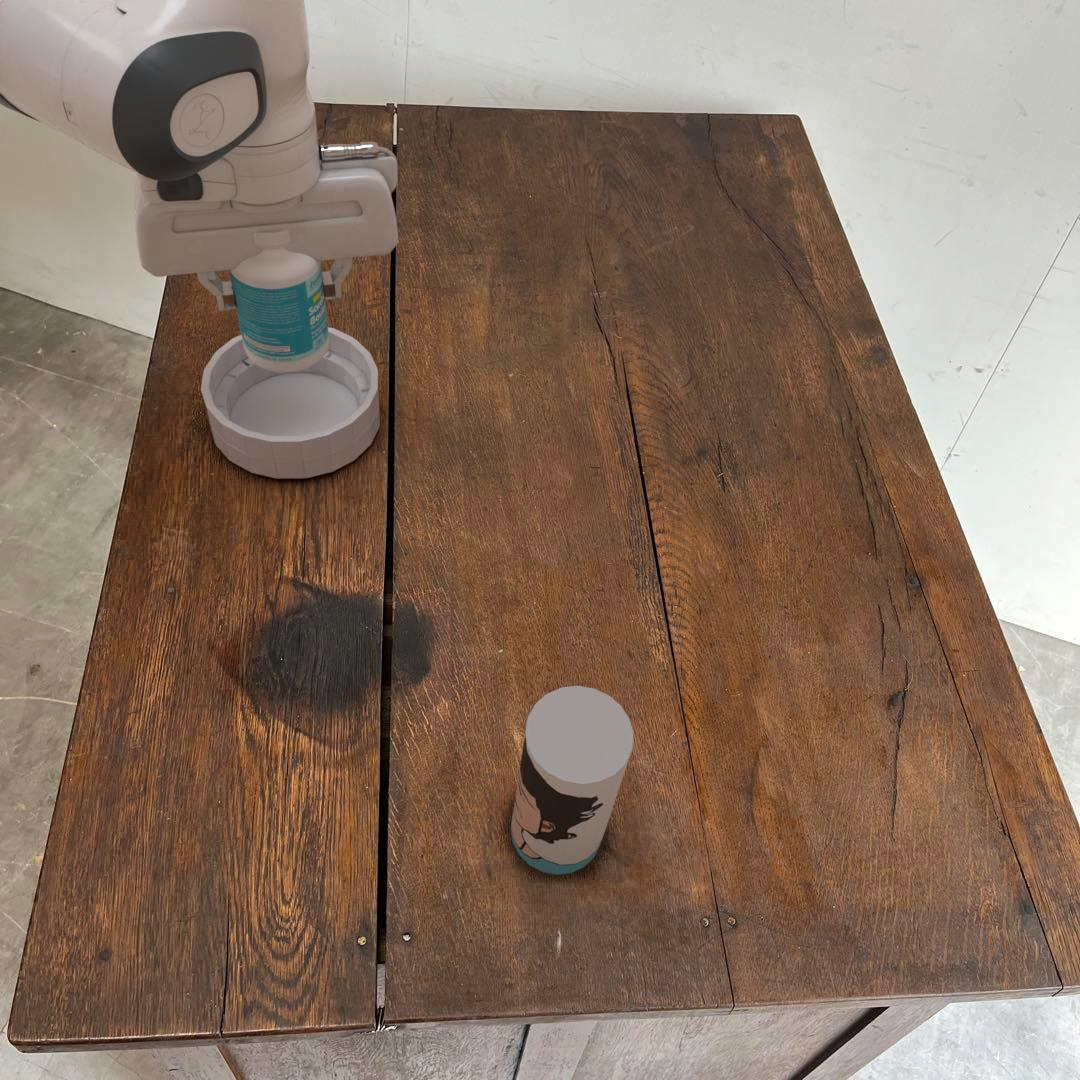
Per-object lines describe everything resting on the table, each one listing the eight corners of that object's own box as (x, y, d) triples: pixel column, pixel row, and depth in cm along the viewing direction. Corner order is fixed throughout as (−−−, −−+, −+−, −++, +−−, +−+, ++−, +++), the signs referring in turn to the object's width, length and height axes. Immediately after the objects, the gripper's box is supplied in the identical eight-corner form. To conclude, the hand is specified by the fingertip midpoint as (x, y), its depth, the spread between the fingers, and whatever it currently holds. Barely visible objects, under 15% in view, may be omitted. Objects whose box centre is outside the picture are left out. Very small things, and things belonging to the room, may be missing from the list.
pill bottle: (334, 372, 90) (321, 241, 79) (247, 381, 88) (222, 249, 78) (325, 317, 94) (310, 186, 84) (242, 325, 93) (217, 193, 82)
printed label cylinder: (565, 770, 78) (588, 668, 67) (620, 840, 75) (655, 746, 64) (492, 818, 76) (504, 719, 64) (547, 893, 72) (569, 804, 61)
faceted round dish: (202, 484, 93) (191, 442, 89) (220, 365, 103) (211, 321, 98) (379, 482, 95) (377, 441, 90) (380, 365, 104) (378, 323, 100)
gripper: (389, 118, 81) (394, 264, 91) (114, 137, 76) (153, 289, 87) (405, 163, 77) (408, 310, 88) (116, 186, 72) (157, 338, 83)
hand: (279, 300), depth 87 cm, fingers closed on pill bottle, 7 cm apart
